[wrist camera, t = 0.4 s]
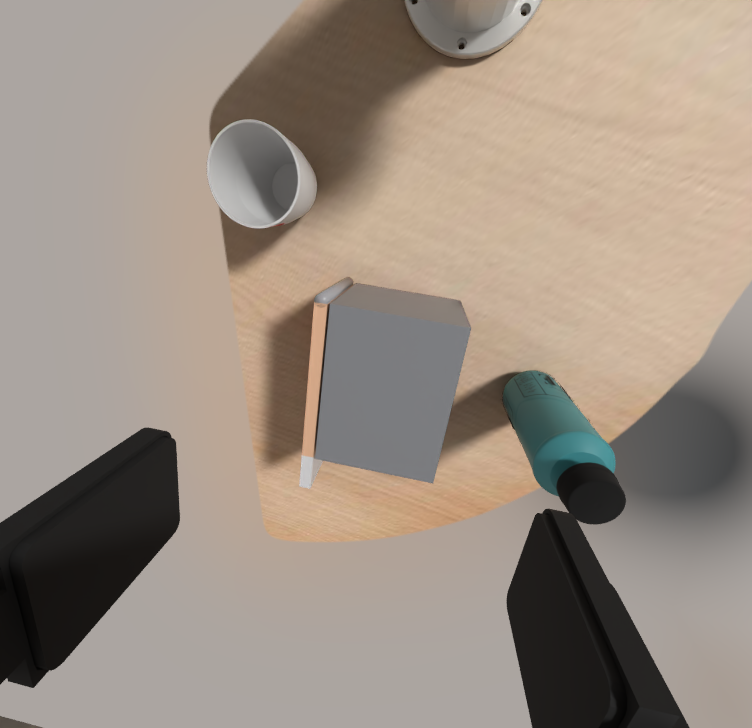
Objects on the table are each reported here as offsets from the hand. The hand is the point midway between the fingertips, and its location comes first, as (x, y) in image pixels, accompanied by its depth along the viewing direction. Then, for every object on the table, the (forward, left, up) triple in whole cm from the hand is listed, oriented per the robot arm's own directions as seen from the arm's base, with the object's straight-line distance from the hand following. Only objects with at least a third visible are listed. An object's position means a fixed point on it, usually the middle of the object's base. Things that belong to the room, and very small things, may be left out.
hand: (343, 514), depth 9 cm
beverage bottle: (+9, +16, -35) cm, 40 cm away
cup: (-9, -14, -35) cm, 39 cm away
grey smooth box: (+8, 0, -35) cm, 36 cm away
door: (+10, -7, -35) cm, 37 cm away
